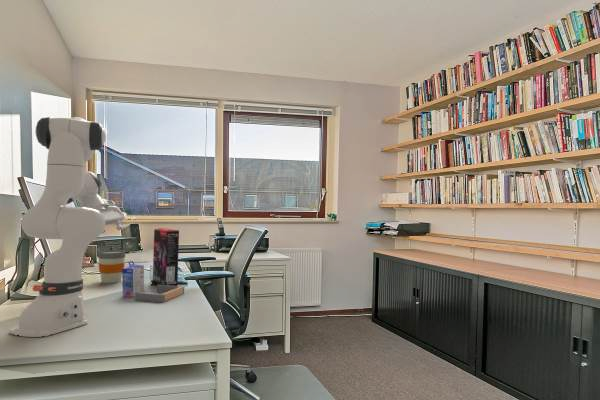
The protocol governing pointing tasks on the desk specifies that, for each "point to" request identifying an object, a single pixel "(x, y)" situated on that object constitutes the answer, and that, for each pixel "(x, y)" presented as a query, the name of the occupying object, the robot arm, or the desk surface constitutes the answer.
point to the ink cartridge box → (132, 279)
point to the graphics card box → (165, 256)
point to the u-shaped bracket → (167, 295)
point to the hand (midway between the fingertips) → (112, 230)
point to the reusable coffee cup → (111, 265)
